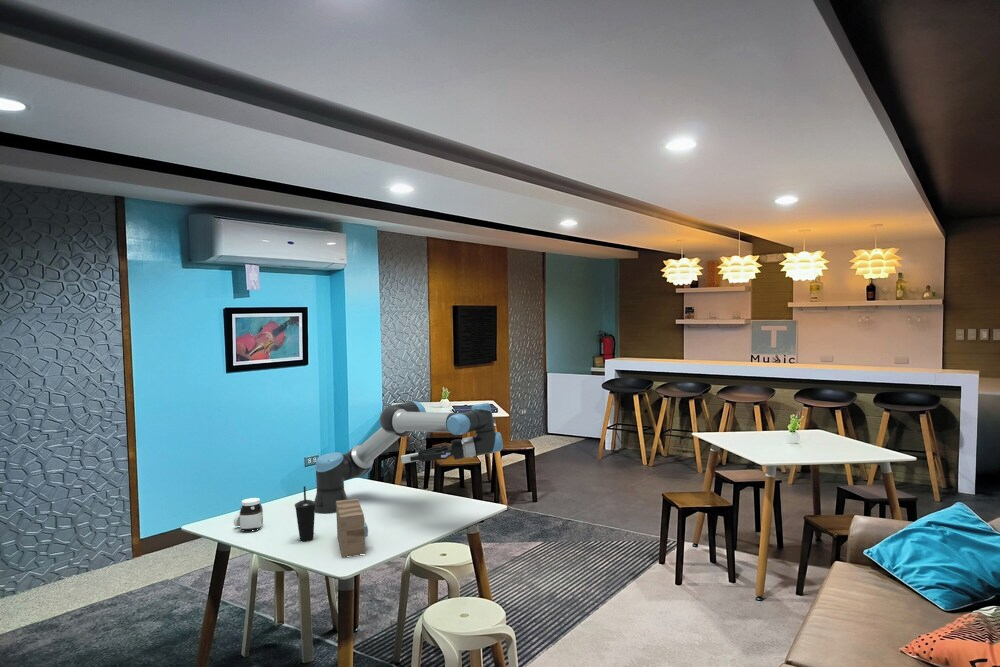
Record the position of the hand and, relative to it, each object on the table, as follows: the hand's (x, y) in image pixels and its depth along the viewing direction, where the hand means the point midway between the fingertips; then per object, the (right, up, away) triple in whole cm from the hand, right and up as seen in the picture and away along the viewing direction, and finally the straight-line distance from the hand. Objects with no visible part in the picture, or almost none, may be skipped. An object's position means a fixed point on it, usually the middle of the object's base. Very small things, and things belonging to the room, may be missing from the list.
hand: (401, 459), depth 242 cm
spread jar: (-63, -30, +13) cm, 72 cm away
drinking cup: (-35, -30, -3) cm, 46 cm away
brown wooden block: (-17, -29, -11) cm, 35 cm away
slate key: (-13, -24, -16) cm, 31 cm away
